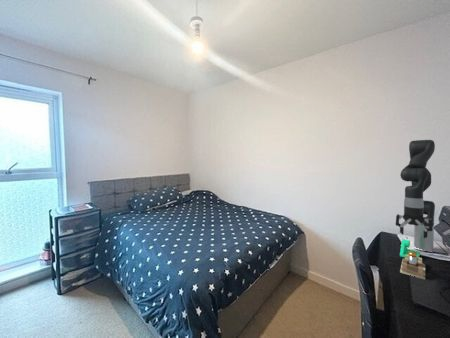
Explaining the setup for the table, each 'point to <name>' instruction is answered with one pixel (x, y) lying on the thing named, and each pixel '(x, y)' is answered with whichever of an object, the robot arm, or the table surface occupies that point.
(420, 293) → the table surface
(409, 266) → the dock board
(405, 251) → the camera mount
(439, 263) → the table surface
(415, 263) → the lock pin
